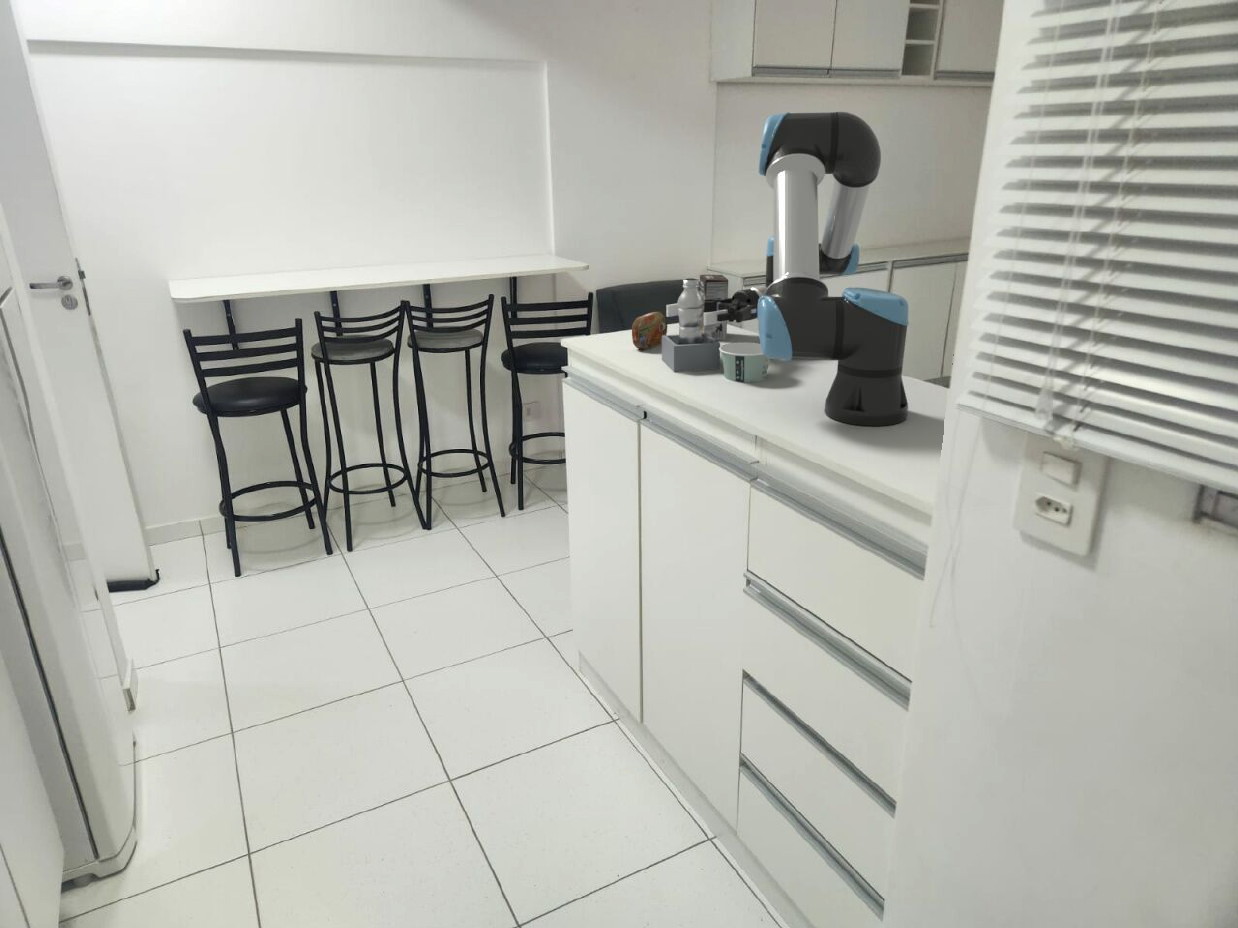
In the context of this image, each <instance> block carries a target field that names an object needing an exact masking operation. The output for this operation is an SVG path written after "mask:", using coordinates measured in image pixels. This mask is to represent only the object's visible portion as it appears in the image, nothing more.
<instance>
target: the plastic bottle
mask: <svg viewBox="0 0 1238 928" xmlns="http://www.w3.org/2000/svg"><path fill="white" fill-rule="evenodd" d="M682 280H683V281H682V283H683V284H682V288H683V290H682V292H681V293H680V295H679V297H678V298H677V302H676V304H677V307H678V315H677V316H678V326H679V327H678V328H679V330H678V331H679V333H678V334H679V340H678V345H687V344H702V320H703V313H704V306H705V300H704V298H703V296H702V294H701V293H700V278H696V277H692V278H691V277H689V278H684V279H682Z"/></svg>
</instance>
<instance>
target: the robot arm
mask: <svg viewBox="0 0 1238 928" xmlns="http://www.w3.org/2000/svg"><path fill="white" fill-rule="evenodd" d="M761 138H762V139H761V147H760V154H759V155H760V156H759V162H758V163H759V165H758V174H759V175H760V176H764V177H765V180H766V182H767V184H768V186H769V187H770V188H771V189H773V235H771V236H770V237H769V238H768V240H767V247H766V248H767V249H766V258H765V259H766V260H765V261H766V264H765V267H766V268H765V283H764V284H765V285H764V286H758V287H751V288H746V289H741V290H737V291H735V292H734V293H733V295H732V297H728V298H725V299H721V298H715V299H704V300H705V306H704V312H708V313H704V325H712V324H717V323H723V322H727V323H728V322H729V323H733V322H735V323H739V324H740V323H743V322H746V321H752V320H756V319H757V322H758V323H757V325H758V326H757V327H758V329H757V330H758V335H759V337H758V338H759V343H760V344H761V348H762V351H763V353H764V355H765V356H766V357H767V358H769V359H770V360H780V361H781V360H782V361H783V360H784V361H785V362H790V361H837V367H836V368H837V370H836V375H835V376H834V379H833V382H832V384H831V386H830V389H829V391H828V394H827V395H826V396H827V397H826V398H825V401H824V402H825V403H824V414H825V415H826V416H827V417H828V418H831V419H833V420H835V421H838V422H842V423H845V424H850V425H857V426H871V427H872V426H873V427H876V426H877V427H878V426H881V427H883V426H891V425H895V424H896V425H897V424H900V423H902V422H904V421H906V420H907V418H908V413H909V402H908V398H907V394H906V391H905V385H904V382H903V365H904V357H905V349H906V348H905V347H906V340H907V331H908V326H909V325H910V324H909V323H910V322H909V303H908V301H907V299H905V298H904V297H903V296H901V295H899V294H898V293H897V294H896V293H893V292H889V291H885V290H880V289H876V288H875V289H873V288H867V287H846V288H845V289H844V290H843V292H842V293H841V296H829V290H828V286H827V284H826V283H825V282H824V281H823V280H821V279H820V275H825V276H826V275H829V276H830V275H833V276H834V275H837V276H842V275H853V274H855V273H856V272H857V271H858V268H859V262H860V247H859V245H858V243H855V241H856V237H857V234H858V230H859V226H860V223H861V220H862V215H863V213H864V208H865V204H866V200H867V196H868V193H869V190H870V187H871V186H870V185H871V184H873V183H874V182H875V181H876V179H877V178H878V175H879V172H880V167H881V161H882V152H881V146H880V143H879V140H878V137H877V135H876V134H875V132H874V131H873V129H872V128H871V126H870V125H869V124H868V123H867V122H866V121H865V120H864V119H862V118H861V117H859V116H858V115H856V114H853V113H851V112H849V111H848V112H847V111H835V112H794V113H790V112H785V113H777V114H772V115H771V114H770V116H768V117H767V119H766V120H765V123H764V128H763V132H762V137H761ZM826 175H832V176H833V177H832V178H833V179H834V180H833V184H832V190H831V195H830V199H829V204H828V209H827V215H826V219H825V222H824V223H825V224H824V228H823V233H822V237H821V242H819V241H820V239H819V200H818V199H819V197H818V195H819V194H818V186H819V185H820V184H821V183H822V182H823V180H824V178H825V176H826ZM665 306H666V310H665V311H666V315H665V317H667V318H668V317H675V316H679V315H678V307H677V303H672V304H666V305H665ZM717 309H719V311H717Z"/></svg>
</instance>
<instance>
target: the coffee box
mask: <svg viewBox="0 0 1238 928" xmlns="http://www.w3.org/2000/svg"><path fill="white" fill-rule="evenodd" d="M699 291H700V293H701V294H702V296H703V298H704V299H715V298H721V299H725V298H729V279H728V278H726V277H725V276H724V275H723V274H699ZM717 311H719V309H717ZM704 313H708V312H704ZM704 313H703V320H702V333H707V334H708V335H709V336H711V337H712V338H714V339H715V340H716V341H720V340H721V341H722V340H723V341H724V340H726V341H727V336H728V335H727V334H728V333H727V332H728V331H727V329H728V328H727V325H728V321H727V322H723V323H717V324H712V325H704Z"/></svg>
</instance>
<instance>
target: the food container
mask: <svg viewBox="0 0 1238 928" xmlns="http://www.w3.org/2000/svg"><path fill="white" fill-rule="evenodd" d="M719 350H720V355H721V360H722V367H723V373H724V378H725V379H726V380H729V381H732V382H738V383H739V382H740V383H753V382H760V381H764V380H766V378H767V373H768V369H769V365H770V361H771V359H769V358H767V357H766V356H765V355H764V353H763V351H762V348H761V344H760V342H759V343H758V342H747V341H745V342H743V341H742V342H732V343H725V344H722V345H720V348H719Z"/></svg>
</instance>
